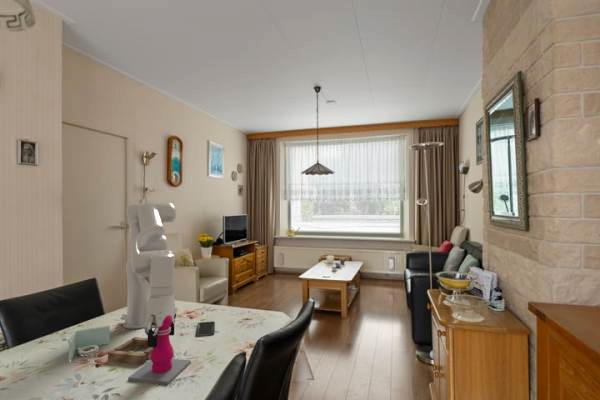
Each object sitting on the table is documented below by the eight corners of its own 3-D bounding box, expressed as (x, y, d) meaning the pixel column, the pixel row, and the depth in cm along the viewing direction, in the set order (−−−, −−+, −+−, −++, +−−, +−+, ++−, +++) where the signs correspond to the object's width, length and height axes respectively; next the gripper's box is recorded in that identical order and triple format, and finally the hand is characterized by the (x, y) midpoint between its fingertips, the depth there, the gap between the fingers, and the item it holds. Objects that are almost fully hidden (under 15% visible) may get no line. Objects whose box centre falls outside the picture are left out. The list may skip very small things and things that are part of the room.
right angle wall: (68, 363, 114) (69, 342, 114) (73, 350, 124) (73, 330, 125) (107, 356, 120) (108, 336, 120) (109, 344, 130) (109, 325, 130)
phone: (195, 335, 136) (198, 322, 151) (195, 337, 136) (197, 324, 151) (214, 333, 138) (215, 321, 153) (214, 335, 138) (215, 323, 153)
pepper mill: (178, 365, 110) (179, 307, 110) (163, 375, 103) (164, 313, 103) (161, 361, 112) (162, 304, 113) (145, 372, 105) (146, 311, 106)
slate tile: (128, 380, 102) (128, 377, 102) (155, 359, 116) (155, 356, 116) (168, 384, 100) (168, 381, 100) (190, 363, 113) (190, 360, 114)
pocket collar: (107, 361, 115) (108, 352, 115) (134, 344, 128) (134, 337, 128) (142, 364, 112) (143, 356, 112) (166, 347, 126) (166, 339, 126)
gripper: (166, 283, 117) (166, 330, 117) (135, 296, 100) (134, 351, 100) (185, 284, 116) (185, 331, 116) (156, 298, 99) (155, 353, 99)
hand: (161, 340), depth 108 cm, fingers open, 9 cm apart
